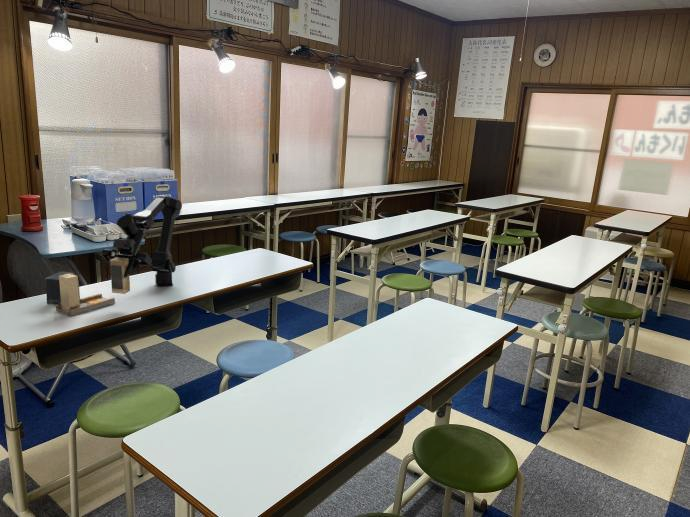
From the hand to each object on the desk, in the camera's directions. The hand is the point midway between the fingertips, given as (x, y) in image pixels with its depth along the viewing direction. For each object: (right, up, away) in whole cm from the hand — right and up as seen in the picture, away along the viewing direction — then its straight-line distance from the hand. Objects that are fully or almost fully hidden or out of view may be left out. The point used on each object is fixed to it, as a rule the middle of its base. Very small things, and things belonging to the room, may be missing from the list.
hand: (118, 276), depth 191 cm
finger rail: (-14, -12, +4) cm, 19 cm away
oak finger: (0, -6, +3) cm, 7 cm away
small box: (-26, -10, +9) cm, 30 cm away
